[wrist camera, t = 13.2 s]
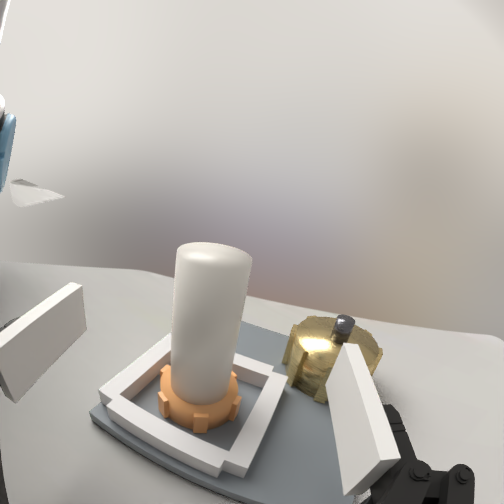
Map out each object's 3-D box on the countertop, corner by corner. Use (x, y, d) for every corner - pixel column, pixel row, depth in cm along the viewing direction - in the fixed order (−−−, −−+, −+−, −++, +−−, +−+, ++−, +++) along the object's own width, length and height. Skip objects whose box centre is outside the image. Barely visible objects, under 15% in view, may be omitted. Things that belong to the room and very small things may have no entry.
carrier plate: (91, 420, 15) (84, 398, 14) (209, 316, 32) (211, 298, 31) (342, 525, 10) (361, 512, 9) (360, 364, 27) (369, 346, 26)
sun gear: (269, 388, 21) (287, 329, 19) (291, 338, 29) (306, 288, 27) (365, 414, 19) (397, 358, 17) (365, 359, 26) (386, 311, 25)
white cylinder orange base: (142, 406, 16) (136, 251, 13) (182, 366, 22) (193, 232, 18) (219, 444, 15) (249, 289, 11) (248, 394, 20) (282, 256, 17)
